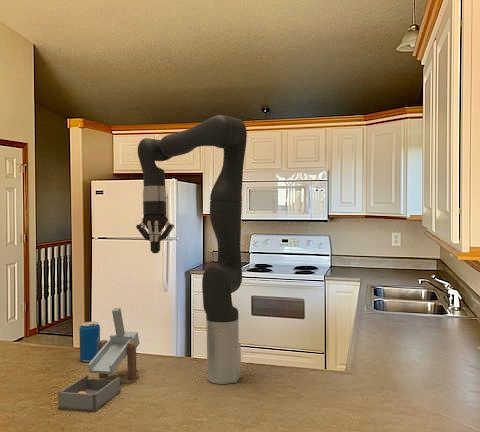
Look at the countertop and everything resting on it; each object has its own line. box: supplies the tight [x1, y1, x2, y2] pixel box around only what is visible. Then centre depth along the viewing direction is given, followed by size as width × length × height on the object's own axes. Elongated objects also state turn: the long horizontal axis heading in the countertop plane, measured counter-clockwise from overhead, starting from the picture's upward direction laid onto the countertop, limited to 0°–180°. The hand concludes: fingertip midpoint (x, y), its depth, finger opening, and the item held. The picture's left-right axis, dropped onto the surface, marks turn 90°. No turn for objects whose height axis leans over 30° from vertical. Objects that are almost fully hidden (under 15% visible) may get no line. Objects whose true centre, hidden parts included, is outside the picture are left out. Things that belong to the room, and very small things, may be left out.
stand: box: [97, 339, 140, 385], centre depth 138 cm, size 12×5×11 cm, turn 77°
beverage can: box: [79, 321, 101, 363], centre depth 157 cm, size 6×6×12 cm
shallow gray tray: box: [57, 374, 121, 413], centre depth 123 cm, size 10×13×4 cm
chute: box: [88, 307, 140, 374], centre depth 136 cm, size 7×18×14 cm, turn 168°
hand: (155, 253), depth 156 cm, fingers closed
